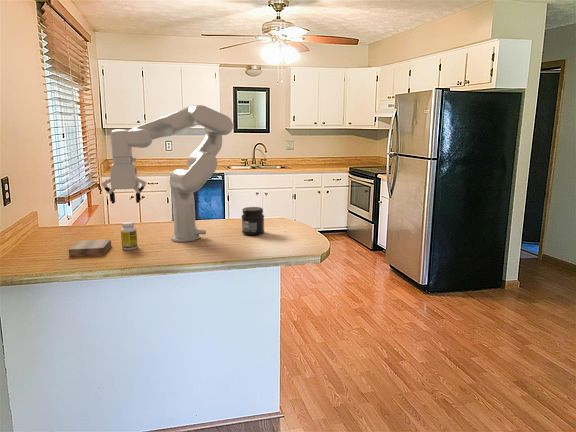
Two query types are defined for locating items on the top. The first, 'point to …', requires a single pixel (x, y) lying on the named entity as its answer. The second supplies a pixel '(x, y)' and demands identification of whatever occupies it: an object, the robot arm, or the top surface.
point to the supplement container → (252, 221)
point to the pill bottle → (128, 236)
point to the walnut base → (90, 248)
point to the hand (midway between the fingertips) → (125, 202)
